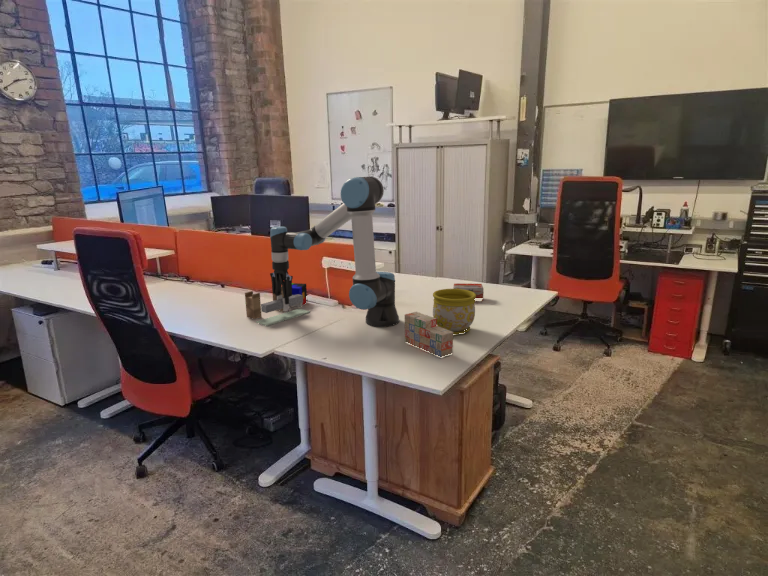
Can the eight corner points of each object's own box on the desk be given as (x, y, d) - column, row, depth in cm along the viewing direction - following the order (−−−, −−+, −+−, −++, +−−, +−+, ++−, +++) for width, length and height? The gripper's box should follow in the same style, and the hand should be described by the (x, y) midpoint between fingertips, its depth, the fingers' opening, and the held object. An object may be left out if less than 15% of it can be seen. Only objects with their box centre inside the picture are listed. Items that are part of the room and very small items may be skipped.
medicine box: (453, 301, 256) (454, 287, 254) (452, 297, 264) (453, 283, 262) (483, 302, 255) (483, 287, 253) (481, 298, 262) (482, 283, 260)
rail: (298, 301, 240) (297, 294, 240) (303, 302, 238) (302, 295, 237) (261, 311, 224) (261, 304, 223) (266, 313, 222) (265, 305, 221)
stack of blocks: (453, 355, 185) (453, 324, 182) (440, 359, 182) (441, 327, 179) (416, 339, 202) (416, 310, 199) (404, 343, 198) (404, 313, 195)
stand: (287, 309, 245) (286, 286, 242) (254, 319, 230) (252, 294, 227) (279, 307, 249) (278, 284, 246) (246, 316, 234) (244, 292, 231)
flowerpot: (465, 340, 200) (467, 301, 196) (425, 333, 209) (425, 296, 205) (480, 327, 215) (481, 291, 211) (442, 321, 224) (442, 286, 220)
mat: (310, 312, 240) (310, 311, 240) (267, 326, 220) (267, 324, 220) (299, 309, 245) (299, 308, 244) (255, 322, 225) (255, 321, 225)
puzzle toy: (300, 307, 248) (299, 288, 246) (281, 306, 250) (280, 287, 248) (307, 302, 258) (306, 283, 255) (289, 301, 260) (288, 283, 257)
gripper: (298, 261, 223) (301, 311, 229) (275, 257, 234) (278, 304, 239) (285, 264, 218) (288, 314, 224) (262, 259, 228) (265, 308, 234)
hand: (283, 309), depth 231 cm, fingers closed on rail, 3 cm apart
